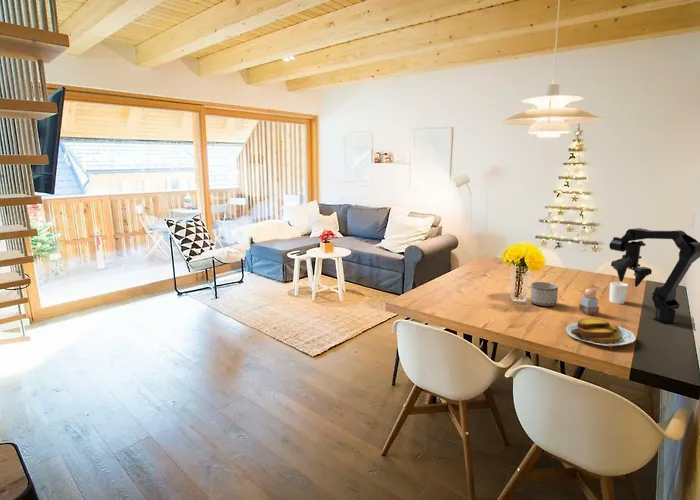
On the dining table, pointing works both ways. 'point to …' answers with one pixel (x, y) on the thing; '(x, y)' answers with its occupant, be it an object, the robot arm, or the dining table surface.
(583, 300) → the tower top
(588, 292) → the pink rounded block
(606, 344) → the food on plate
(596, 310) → the tower base
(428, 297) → the dining table surface
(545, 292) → the planter
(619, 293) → the white cup
